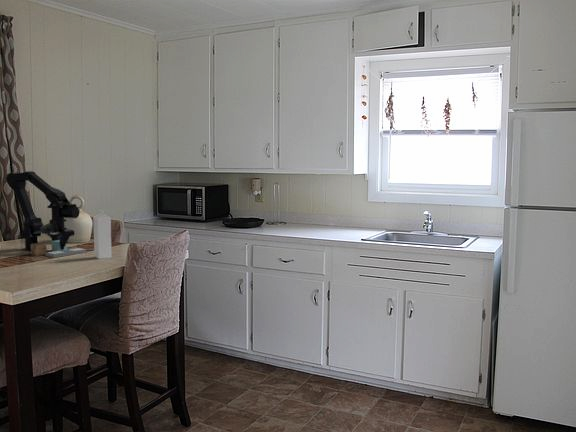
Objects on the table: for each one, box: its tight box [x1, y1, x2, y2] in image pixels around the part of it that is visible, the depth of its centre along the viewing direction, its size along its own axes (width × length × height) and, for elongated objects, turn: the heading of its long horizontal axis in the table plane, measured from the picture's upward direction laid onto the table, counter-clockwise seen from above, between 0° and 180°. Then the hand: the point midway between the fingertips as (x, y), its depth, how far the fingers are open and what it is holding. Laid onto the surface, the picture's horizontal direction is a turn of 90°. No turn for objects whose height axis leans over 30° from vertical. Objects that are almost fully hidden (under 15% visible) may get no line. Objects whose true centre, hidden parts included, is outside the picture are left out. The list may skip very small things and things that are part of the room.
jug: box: [64, 195, 93, 244], centre depth 309 cm, size 15×16×25 cm
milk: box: [92, 209, 112, 260], centre depth 264 cm, size 6×6×22 cm
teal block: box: [50, 240, 68, 252], centre depth 280 cm, size 5×5×5 cm
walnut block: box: [30, 242, 48, 256], centre depth 272 cm, size 5×5×5 cm
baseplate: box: [45, 247, 88, 259], centre depth 272 cm, size 7×17×2 cm, turn 143°
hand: (59, 249), depth 280 cm, fingers closed on teal block, 5 cm apart
